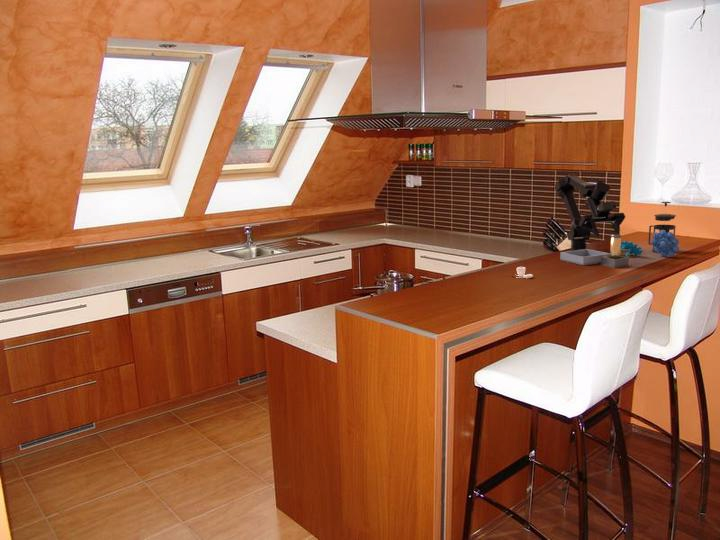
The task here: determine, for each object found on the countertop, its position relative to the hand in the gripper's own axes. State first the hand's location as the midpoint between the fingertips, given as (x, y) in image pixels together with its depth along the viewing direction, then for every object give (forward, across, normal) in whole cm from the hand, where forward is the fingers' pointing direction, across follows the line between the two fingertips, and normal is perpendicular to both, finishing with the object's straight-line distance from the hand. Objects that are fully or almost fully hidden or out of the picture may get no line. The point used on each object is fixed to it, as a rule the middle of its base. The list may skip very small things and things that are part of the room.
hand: (608, 235), depth 259 cm
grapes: (+6, +28, +11) cm, 31 cm away
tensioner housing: (+13, 0, +4) cm, 13 cm away
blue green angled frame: (+1, +16, +16) cm, 23 cm away
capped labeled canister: (+13, 0, +4) cm, 13 cm away
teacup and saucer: (+20, -46, -2) cm, 50 cm away
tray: (+3, -6, +14) cm, 16 cm away
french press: (-3, +36, +20) cm, 41 cm away
